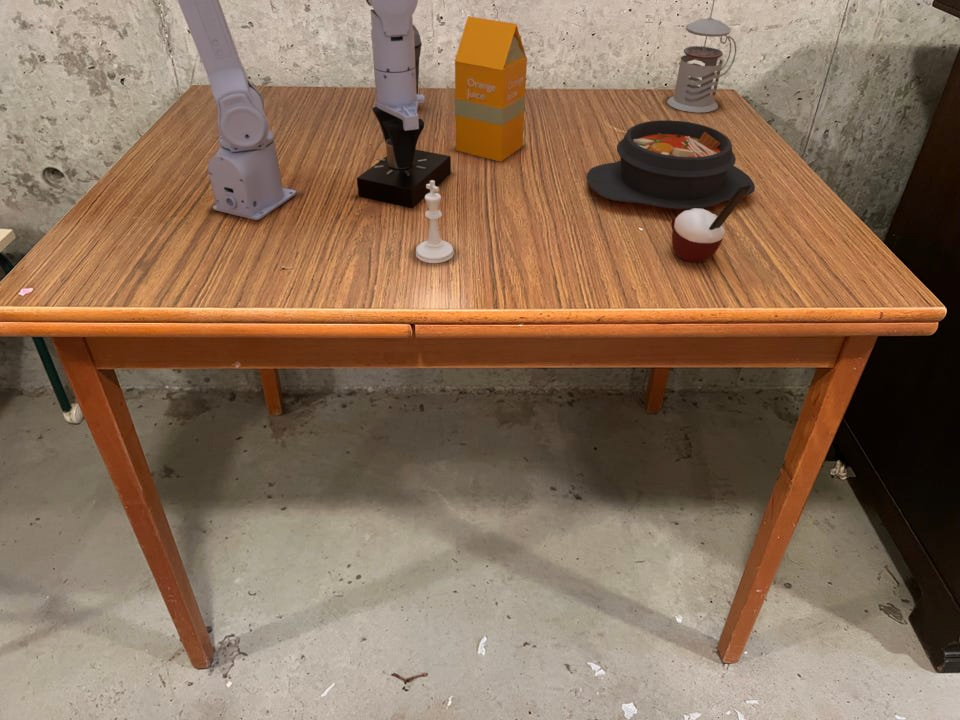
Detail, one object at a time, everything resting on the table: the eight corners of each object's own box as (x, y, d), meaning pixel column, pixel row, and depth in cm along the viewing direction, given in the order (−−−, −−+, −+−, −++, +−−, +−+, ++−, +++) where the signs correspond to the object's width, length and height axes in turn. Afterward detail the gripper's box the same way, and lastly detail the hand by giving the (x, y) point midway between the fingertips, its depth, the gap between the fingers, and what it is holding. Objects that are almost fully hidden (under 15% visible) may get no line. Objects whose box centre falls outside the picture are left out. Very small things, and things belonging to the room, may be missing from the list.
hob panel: (412, 208, 99) (411, 188, 97) (355, 196, 102) (352, 176, 100) (451, 174, 108) (450, 154, 106) (397, 163, 111) (396, 144, 109)
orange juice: (478, 135, 120) (480, 11, 108) (523, 146, 117) (529, 18, 104) (454, 150, 115) (453, 21, 103) (500, 162, 112) (504, 30, 99)
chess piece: (433, 240, 92) (431, 169, 85) (461, 252, 89) (461, 180, 83) (407, 254, 89) (403, 182, 82) (436, 267, 86) (433, 193, 80)
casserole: (722, 163, 112) (735, 112, 107) (773, 217, 98) (790, 160, 93) (573, 169, 110) (578, 117, 105) (602, 225, 96) (610, 167, 90)
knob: (391, 170, 101) (389, 145, 99) (384, 160, 104) (382, 136, 102) (417, 167, 103) (416, 142, 100) (409, 157, 105) (408, 132, 103)
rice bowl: (659, 240, 92) (676, 154, 85) (704, 238, 93) (725, 153, 85) (681, 278, 85) (703, 188, 78) (730, 276, 86) (756, 186, 78)
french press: (657, 97, 137) (682, -46, 121) (708, 92, 140) (739, -49, 124) (683, 114, 130) (713, -36, 114) (736, 109, 133) (772, -39, 117)
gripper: (438, 79, 90) (441, 176, 99) (407, 49, 101) (412, 140, 110) (386, 84, 88) (393, 183, 97) (360, 54, 99) (369, 145, 107)
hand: (400, 161), depth 103 cm, fingers closed on knob, 4 cm apart
